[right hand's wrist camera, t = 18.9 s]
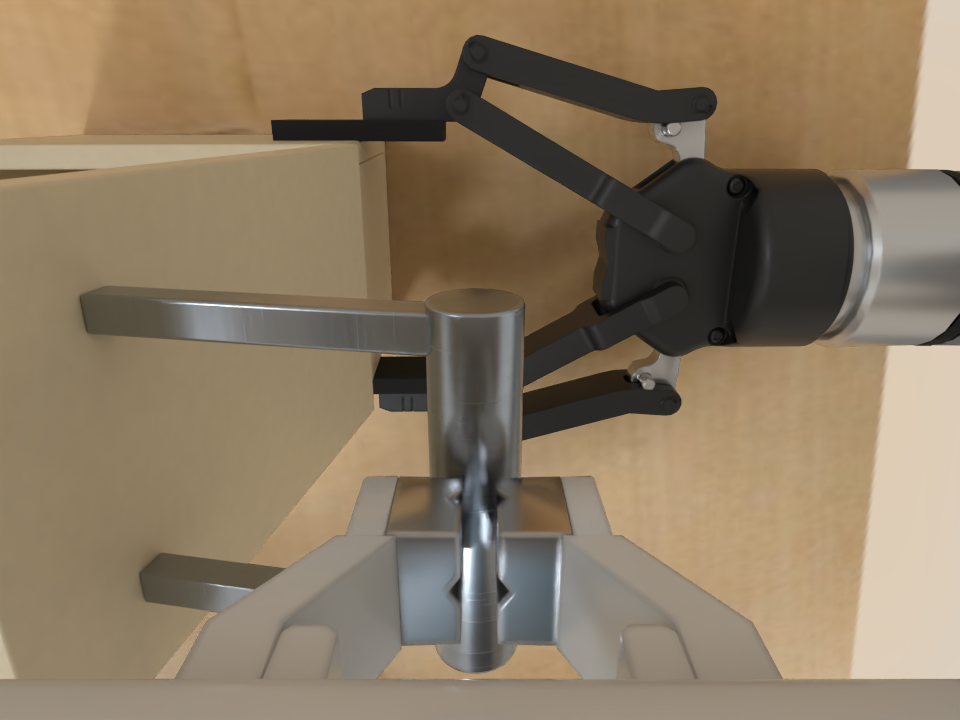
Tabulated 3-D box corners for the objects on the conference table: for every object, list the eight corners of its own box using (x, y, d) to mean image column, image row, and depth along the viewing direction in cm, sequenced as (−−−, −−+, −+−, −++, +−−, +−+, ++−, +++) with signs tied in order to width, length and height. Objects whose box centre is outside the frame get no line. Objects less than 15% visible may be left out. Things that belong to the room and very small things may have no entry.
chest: (119, 323, 36) (-19, 406, 26) (81, 134, 33) (-95, 144, 23) (393, 321, 37) (365, 403, 26) (384, 134, 33) (347, 143, 23)
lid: (6, 791, 11) (485, 893, 10) (-204, 200, 8) (487, 219, 6) (351, 407, 26) (563, 425, 24) (331, 143, 22) (576, 145, 21)
